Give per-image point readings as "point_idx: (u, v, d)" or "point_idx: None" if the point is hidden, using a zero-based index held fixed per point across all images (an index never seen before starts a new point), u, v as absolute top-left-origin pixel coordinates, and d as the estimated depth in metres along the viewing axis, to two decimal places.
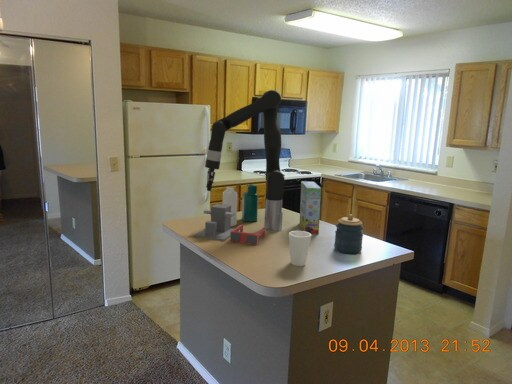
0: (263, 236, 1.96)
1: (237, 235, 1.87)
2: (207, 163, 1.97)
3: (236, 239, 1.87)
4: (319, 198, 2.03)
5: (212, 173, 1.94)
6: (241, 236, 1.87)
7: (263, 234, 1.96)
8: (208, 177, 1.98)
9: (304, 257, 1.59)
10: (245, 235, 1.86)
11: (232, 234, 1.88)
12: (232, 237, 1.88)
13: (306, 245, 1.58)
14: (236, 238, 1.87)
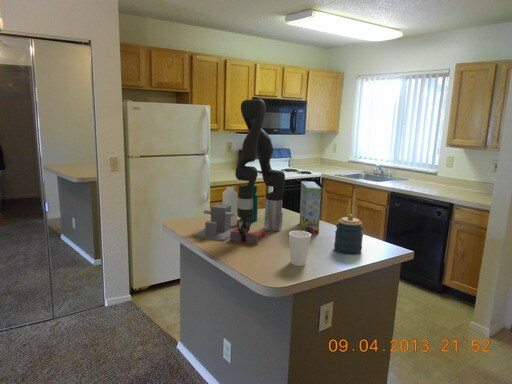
0: (263, 236, 1.96)
1: (237, 235, 1.87)
2: (237, 212, 1.83)
3: (236, 239, 1.87)
4: (319, 198, 2.03)
5: (240, 227, 1.80)
6: None
7: (263, 234, 1.96)
8: None
9: (304, 257, 1.59)
10: None
11: (232, 234, 1.87)
12: (232, 237, 1.88)
13: (306, 245, 1.58)
14: (236, 238, 1.87)
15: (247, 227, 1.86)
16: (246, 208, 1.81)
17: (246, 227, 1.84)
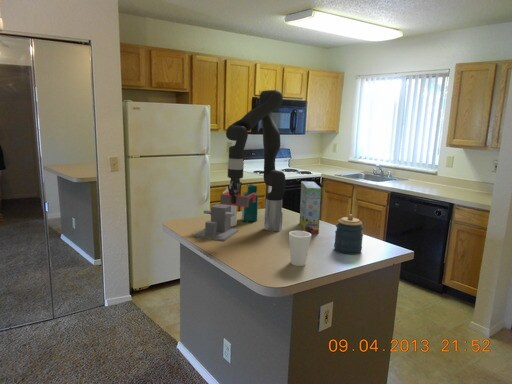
0: (254, 201, 1.95)
1: (227, 197, 1.85)
2: (228, 173, 1.82)
3: (226, 202, 1.85)
4: (319, 198, 2.03)
5: (230, 187, 1.78)
6: None
7: (254, 199, 1.95)
8: None
9: (304, 257, 1.59)
10: None
11: (222, 197, 1.86)
12: (222, 200, 1.86)
13: (306, 245, 1.58)
14: (226, 201, 1.85)
15: None
16: (236, 168, 1.79)
17: (236, 188, 1.82)
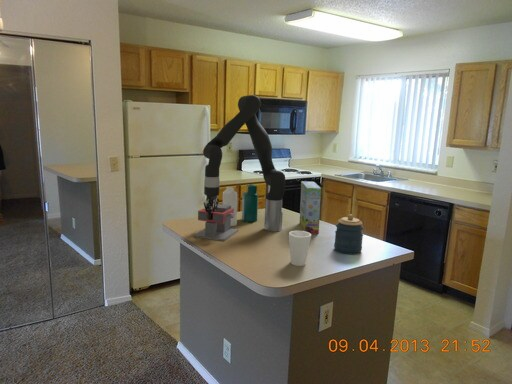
0: None
1: (204, 214, 1.91)
2: (204, 190, 1.88)
3: (203, 218, 1.91)
4: (319, 198, 2.03)
5: (206, 205, 1.84)
6: None
7: None
8: None
9: (304, 257, 1.59)
10: None
11: (200, 213, 1.92)
12: (200, 216, 1.92)
13: (306, 245, 1.58)
14: (203, 217, 1.91)
15: (214, 205, 1.91)
16: (212, 186, 1.85)
17: (213, 205, 1.88)
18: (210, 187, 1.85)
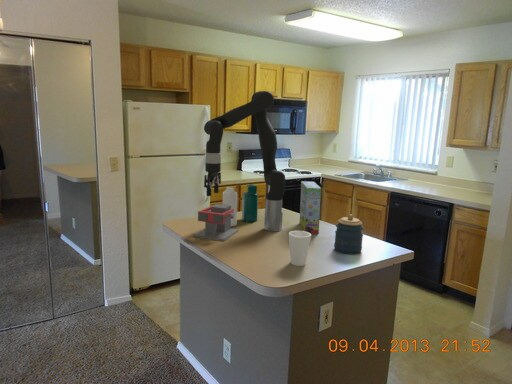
0: (231, 217, 2.01)
1: (204, 215, 1.91)
2: (205, 167, 1.86)
3: (203, 219, 1.92)
4: (319, 198, 2.03)
5: (207, 177, 1.81)
6: (208, 216, 1.91)
7: None
8: None
9: (304, 257, 1.59)
10: (212, 215, 1.90)
11: (199, 214, 1.92)
12: (200, 217, 1.92)
13: (306, 245, 1.58)
14: (203, 218, 1.91)
15: (217, 181, 1.91)
16: (213, 162, 1.83)
17: (213, 180, 1.85)
18: (211, 163, 1.83)
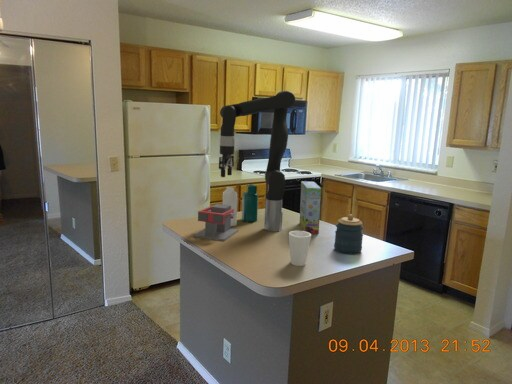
0: (231, 217, 2.01)
1: (204, 215, 1.91)
2: (220, 149, 1.95)
3: (203, 219, 1.92)
4: (319, 198, 2.03)
5: (221, 158, 1.91)
6: (208, 216, 1.91)
7: None
8: (221, 163, 1.95)
9: (304, 257, 1.59)
10: (212, 215, 1.90)
11: (199, 214, 1.92)
12: (200, 217, 1.92)
13: (306, 245, 1.58)
14: (203, 218, 1.91)
15: (230, 164, 2.00)
16: (227, 145, 1.93)
17: (227, 162, 1.94)
18: (226, 146, 1.93)
